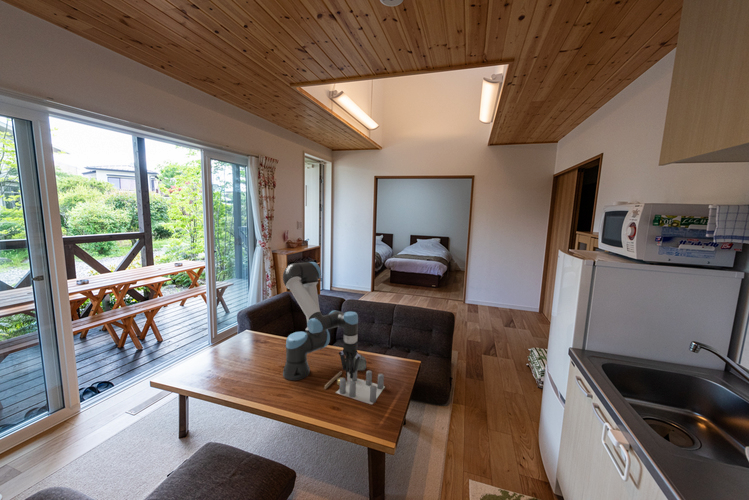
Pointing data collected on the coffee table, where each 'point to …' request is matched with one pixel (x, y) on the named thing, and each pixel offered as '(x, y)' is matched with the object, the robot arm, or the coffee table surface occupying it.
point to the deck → (360, 387)
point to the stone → (361, 363)
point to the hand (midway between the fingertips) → (349, 383)
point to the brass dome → (339, 381)
